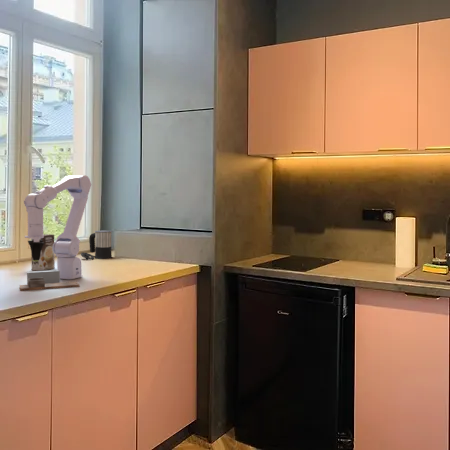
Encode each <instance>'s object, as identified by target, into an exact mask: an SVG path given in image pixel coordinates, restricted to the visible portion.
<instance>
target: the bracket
mask: <svg viewBox="0 0 450 450" xmlns="http://www.w3.org/2000/svg"><path fill="white" fill-rule="evenodd" d="M65 288H80V283H79V282H78V281H77V280H76V281H62V282H61V281H60V283H45V280H43V278H28V285H27V284H19V290H20V291H21V292H23V291H35V290H36V291H37V290H51V289H65Z"/></svg>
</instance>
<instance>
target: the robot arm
mask: <svg viewBox="0 0 450 450" xmlns="http://www.w3.org/2000/svg"><path fill="white" fill-rule="evenodd" d="M91 186H92V183H91V180H90V178H89V176H88V175H85V174H83V175H67V176H64V177H63V178H62V179H61V180H60V181H59V182H57V183H56V184H54V185H48V184H46V185H43V188H41V189H39V190H36V191H35V192H34V193H29V194H27V195H26V196H25V198H24V200H23V204H24V207H25V208H26V213H27V235H24V238H25V239H30V240H27V243H28V245H29V247H30V253H32V257H33V260H39V259H40V254H41V249H42V247H43V244H44V242H43V240H39V239H41V238H44V236H43V234H44V209H45V207H46V206H47V204H48V203H49V202H51V201H53V200H54V199H56V198H57V196H58V194H59V193H61V192H63V191H65V190H66V191H67V192H68V193H69V195H70V196H71V197H72V198H73V201H72V204H71V207H70V211H69V214H68V217H67V220H66V223H65V226H64V229H63V232H62V233H60V234H59V235H57V237H56V239H55V240H54V244H53V252H54V255H55V257H56V261H57V263H56V266H57V268H56V270H59V271H60V280H61V279H62V280H63V279H64V280H74V279H79V278H82V277H84V276H83V275H82V273H83V272H82V260H81V258H79V257H77V255H78V253H79V252H80V243H81V241H80V239H79V237H78V235H77V234H78V231H79V228H80V225H81V223H82V222H81V221H82V218H83V215H84V213H85V209H86V205H87V202H88V198H89V193H90V190H91ZM31 239H33V240H32V241H31Z"/></svg>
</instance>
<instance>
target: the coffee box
mask: <svg viewBox="0 0 450 450" xmlns="http://www.w3.org/2000/svg"><path fill="white" fill-rule="evenodd" d="M43 236H44V238H41V239H39V240H43V242H44V244H43V247H42V249H41V254H40V259H39V260H33V257H32V253H31V252H30V253H31V254H30V255H31V256H30V257H31V271H49V270H54V269H55V261H56V260H55V253H54V252H53V244H54V242H55V234H50V233H49V234H47V233H45V234H44V233H43ZM32 240H33V239H31V238H30V241H32Z"/></svg>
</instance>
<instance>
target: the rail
mask: <svg viewBox="0 0 450 450" xmlns="http://www.w3.org/2000/svg"><path fill="white" fill-rule="evenodd" d="M28 278H43V280H45V283H61V279H60V271H59V270H57V269H49V270H44V271H39V270H31V271H26V285H28Z"/></svg>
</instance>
